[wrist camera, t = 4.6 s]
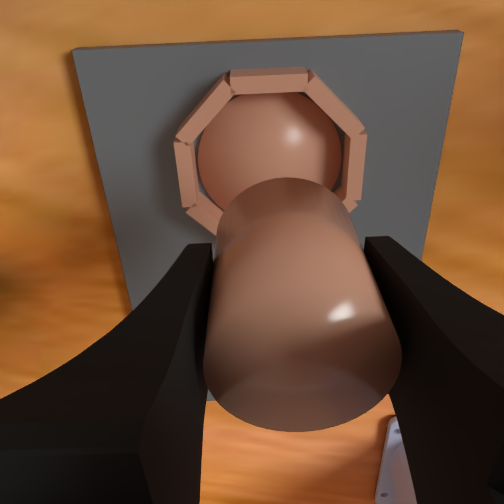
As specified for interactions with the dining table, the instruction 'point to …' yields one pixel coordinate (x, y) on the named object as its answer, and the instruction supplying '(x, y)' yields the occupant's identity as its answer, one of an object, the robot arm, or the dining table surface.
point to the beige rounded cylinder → (295, 312)
